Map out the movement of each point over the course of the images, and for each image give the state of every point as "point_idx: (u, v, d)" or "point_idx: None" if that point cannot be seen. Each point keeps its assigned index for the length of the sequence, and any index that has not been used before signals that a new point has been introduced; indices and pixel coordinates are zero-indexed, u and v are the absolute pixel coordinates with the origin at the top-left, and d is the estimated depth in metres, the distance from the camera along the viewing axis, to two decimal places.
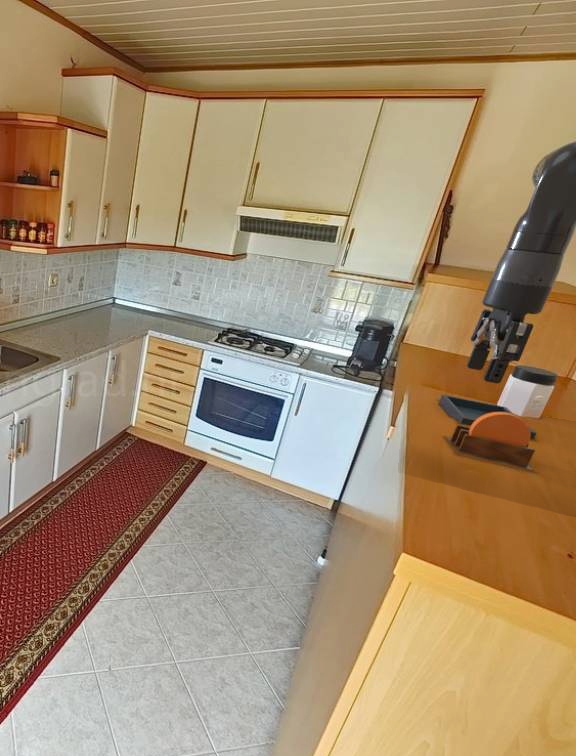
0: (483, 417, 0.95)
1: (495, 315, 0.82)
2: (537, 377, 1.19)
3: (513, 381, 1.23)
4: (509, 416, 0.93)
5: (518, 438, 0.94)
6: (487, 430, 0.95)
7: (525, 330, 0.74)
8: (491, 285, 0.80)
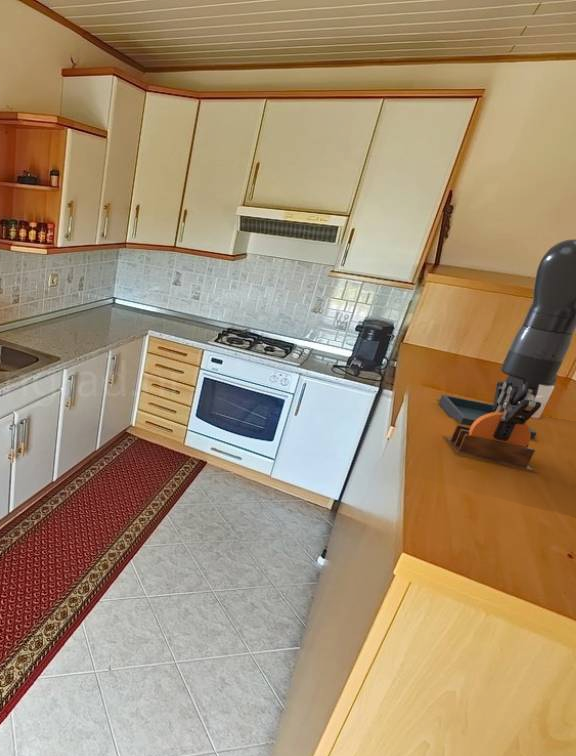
0: (483, 417, 0.95)
1: (512, 380, 0.93)
2: None
3: None
4: None
5: (518, 438, 0.93)
6: (487, 430, 0.95)
7: (532, 408, 0.87)
8: (509, 356, 0.91)
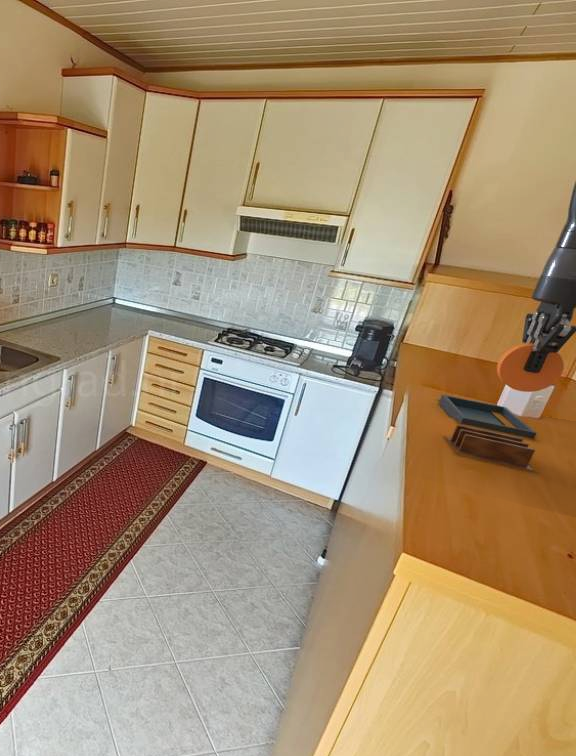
0: (513, 349, 0.91)
1: (544, 309, 0.88)
2: None
3: None
4: None
5: (550, 370, 0.89)
6: (517, 363, 0.91)
7: (567, 333, 0.82)
8: (541, 281, 0.86)
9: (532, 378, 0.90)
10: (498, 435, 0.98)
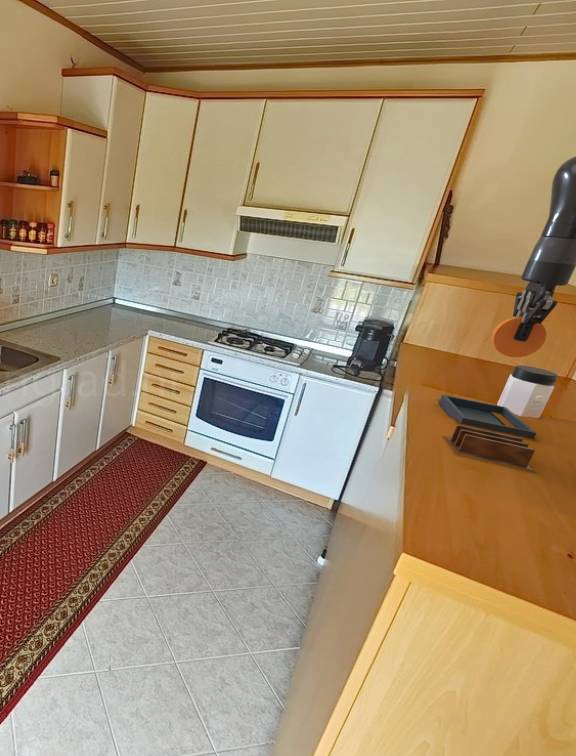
0: (505, 321, 1.09)
1: (531, 287, 1.06)
2: (537, 377, 1.19)
3: (513, 381, 1.23)
4: None
5: (535, 338, 1.07)
6: (508, 333, 1.09)
7: (549, 306, 1.01)
8: (529, 264, 1.04)
9: (520, 345, 1.08)
10: (498, 435, 0.98)
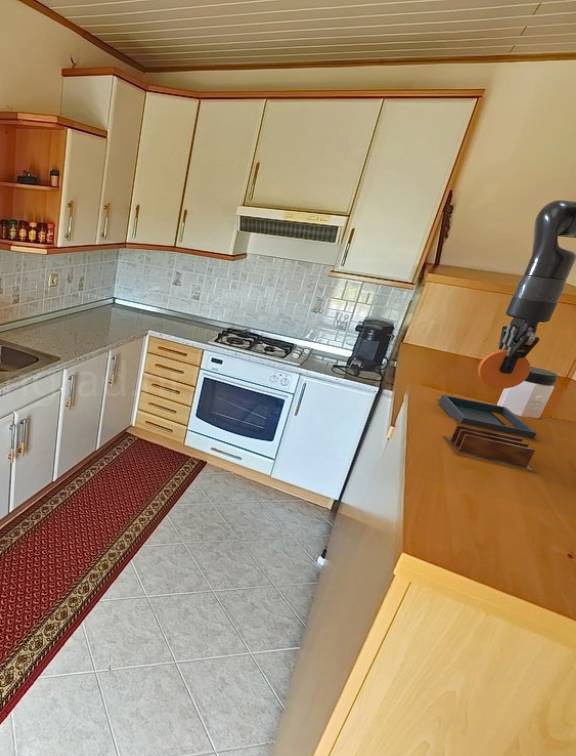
0: (490, 354, 1.13)
1: (515, 322, 1.11)
2: (537, 377, 1.19)
3: None
4: None
5: (520, 371, 1.11)
6: (494, 365, 1.13)
7: (532, 343, 1.05)
8: (513, 301, 1.09)
9: (505, 378, 1.13)
10: (498, 435, 0.98)
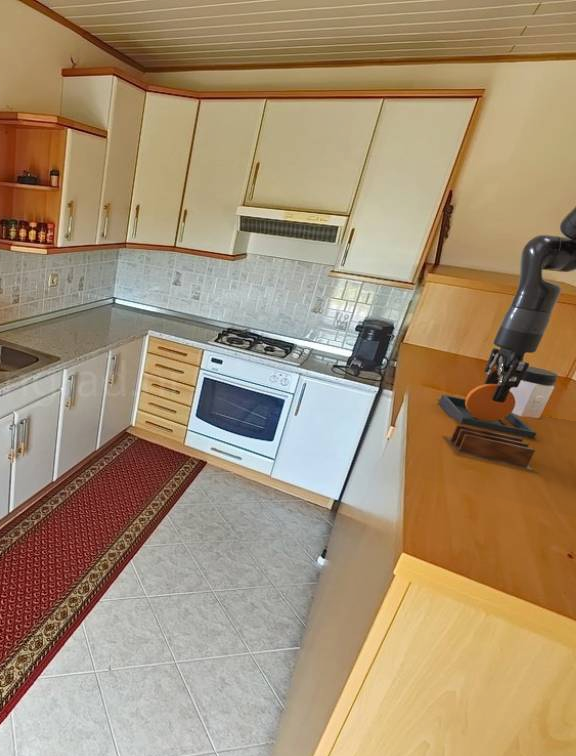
0: (477, 388, 1.16)
1: (503, 352, 1.13)
2: (537, 377, 1.19)
3: None
4: None
5: (505, 405, 1.14)
6: (480, 399, 1.16)
7: (523, 367, 1.06)
8: (500, 331, 1.11)
9: (491, 411, 1.16)
10: (498, 435, 0.98)
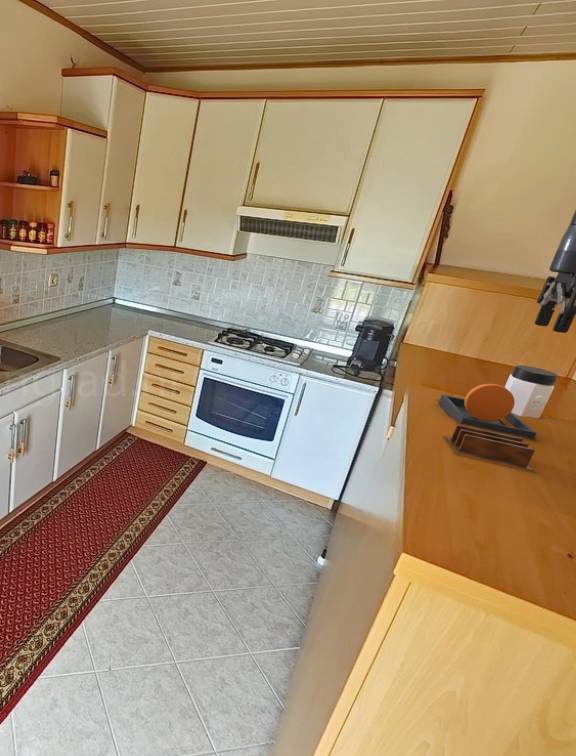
0: (476, 388, 1.16)
1: (560, 279, 1.01)
2: (537, 377, 1.19)
3: (513, 381, 1.23)
4: (497, 386, 1.14)
5: (504, 404, 1.14)
6: (479, 399, 1.16)
7: None
8: (557, 254, 0.99)
9: (491, 410, 1.16)
10: (498, 435, 0.98)
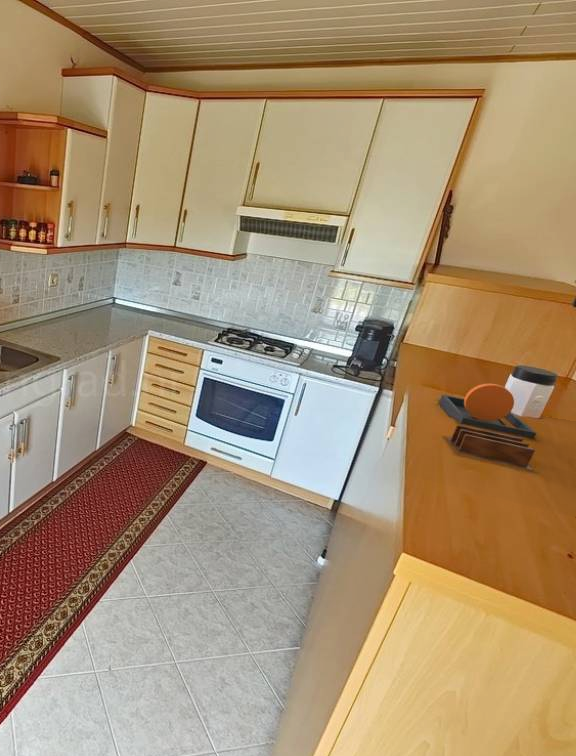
0: (475, 388, 1.16)
1: None
2: (537, 377, 1.19)
3: (513, 381, 1.23)
4: (496, 386, 1.14)
5: (504, 404, 1.14)
6: (478, 399, 1.16)
7: None
8: None
9: (491, 410, 1.16)
10: (498, 435, 0.98)
